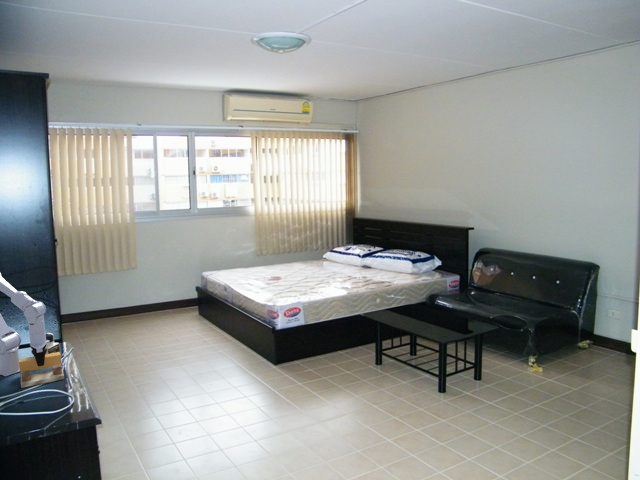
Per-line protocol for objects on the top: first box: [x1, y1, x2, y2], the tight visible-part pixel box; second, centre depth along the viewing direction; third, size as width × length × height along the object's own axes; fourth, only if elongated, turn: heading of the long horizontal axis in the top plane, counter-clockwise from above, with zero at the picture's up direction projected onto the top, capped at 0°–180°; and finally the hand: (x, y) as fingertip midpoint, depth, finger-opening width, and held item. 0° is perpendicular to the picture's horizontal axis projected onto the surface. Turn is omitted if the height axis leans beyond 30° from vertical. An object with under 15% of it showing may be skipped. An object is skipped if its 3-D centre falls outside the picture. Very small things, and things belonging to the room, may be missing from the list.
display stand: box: [20, 363, 65, 389], centre depth 207 cm, size 15×8×4 cm, turn 120°
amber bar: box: [19, 351, 62, 374], centre depth 214 cm, size 15×4×4 cm, turn 121°
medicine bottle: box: [45, 332, 61, 354], centre depth 227 cm, size 7×7×12 cm
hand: (40, 363), depth 214 cm, fingers closed on amber bar, 4 cm apart
